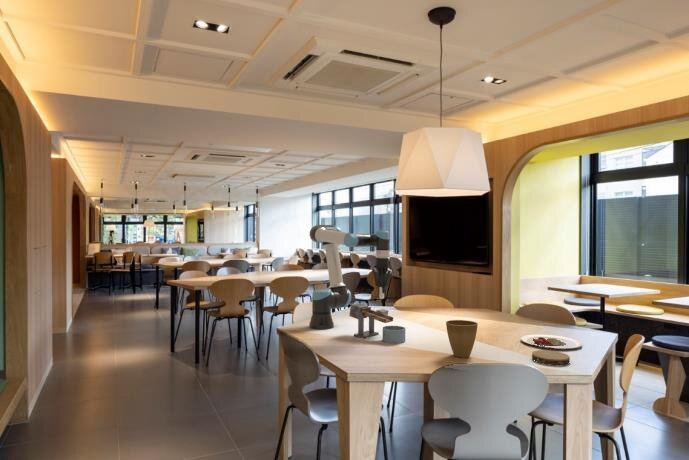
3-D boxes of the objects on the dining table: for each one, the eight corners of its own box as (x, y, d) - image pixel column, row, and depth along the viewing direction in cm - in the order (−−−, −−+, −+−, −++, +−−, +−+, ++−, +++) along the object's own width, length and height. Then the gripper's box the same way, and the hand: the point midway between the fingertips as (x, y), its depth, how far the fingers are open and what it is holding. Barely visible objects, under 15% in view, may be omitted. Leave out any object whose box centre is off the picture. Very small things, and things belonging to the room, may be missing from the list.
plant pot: (482, 355, 219) (483, 322, 219) (468, 361, 208) (468, 327, 208) (454, 349, 229) (455, 318, 229) (439, 355, 218) (440, 322, 218)
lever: (349, 316, 263) (350, 304, 262) (364, 312, 274) (365, 301, 273) (384, 328, 247) (386, 316, 246) (398, 324, 258) (400, 313, 257)
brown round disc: (547, 354, 222) (547, 348, 222) (577, 363, 208) (577, 356, 208) (524, 359, 215) (524, 352, 215) (554, 368, 201) (554, 361, 201)
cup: (378, 341, 247) (378, 328, 247) (391, 337, 256) (391, 324, 256) (397, 344, 239) (397, 331, 239) (409, 340, 248) (409, 327, 248)
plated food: (583, 342, 249) (583, 336, 249) (580, 354, 223) (580, 347, 223) (525, 335, 264) (525, 329, 264) (515, 346, 238) (515, 340, 238)
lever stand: (353, 336, 257) (353, 312, 257) (367, 332, 267) (367, 309, 267) (364, 338, 252) (365, 314, 252) (378, 334, 262) (378, 311, 262)
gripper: (369, 257, 263) (368, 297, 263) (388, 258, 254) (387, 300, 254) (377, 256, 268) (376, 296, 269) (395, 257, 260) (394, 299, 260)
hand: (381, 298), depth 261 cm, fingers closed
